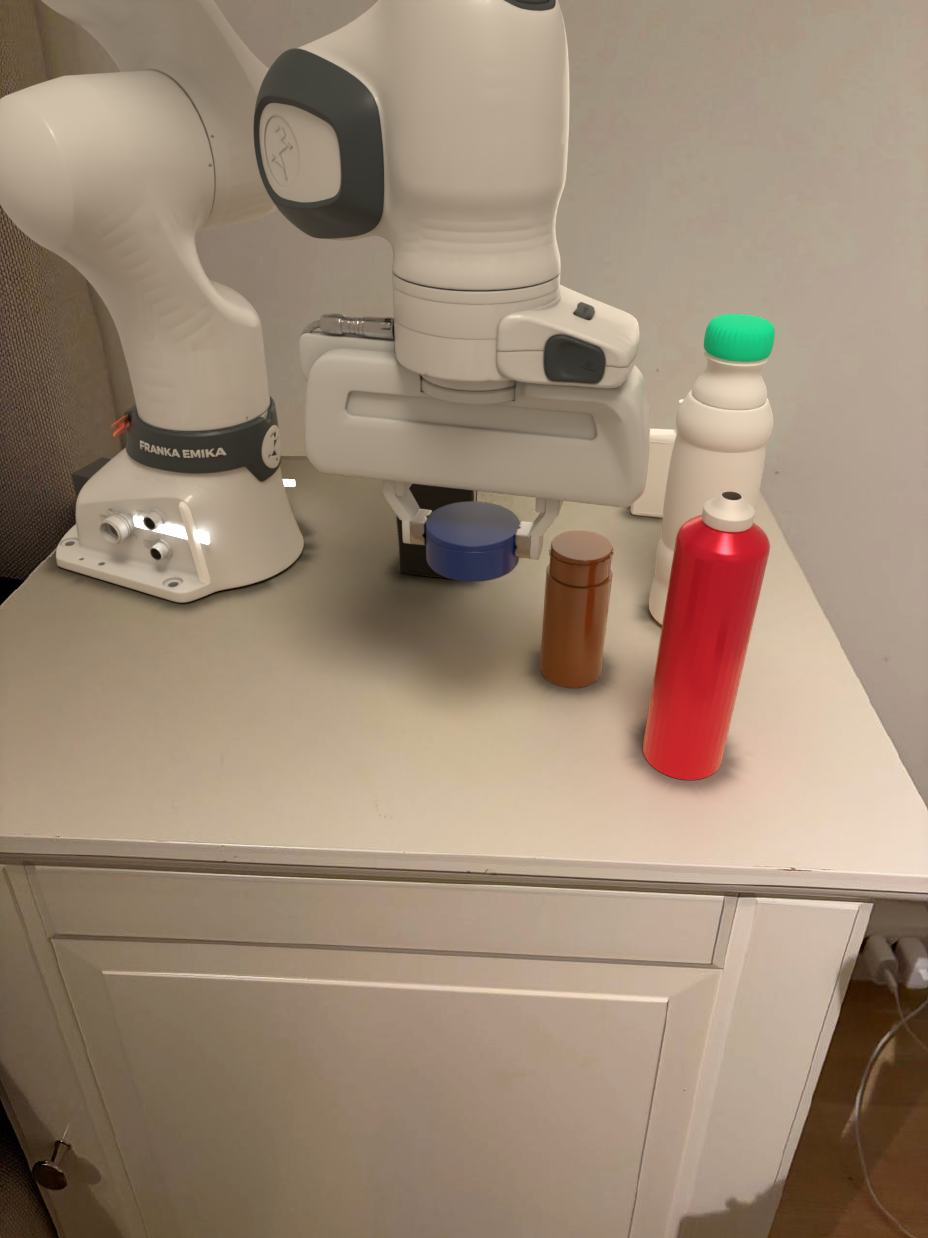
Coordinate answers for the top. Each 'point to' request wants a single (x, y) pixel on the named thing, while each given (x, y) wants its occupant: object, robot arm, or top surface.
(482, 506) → the lid
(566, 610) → the jar
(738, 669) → the bottle
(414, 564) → the battery charger
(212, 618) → the top surface
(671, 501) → the water bottle
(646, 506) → the white upright flat block
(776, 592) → the top surface
